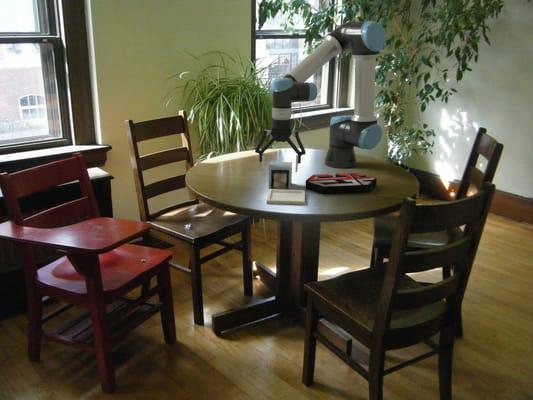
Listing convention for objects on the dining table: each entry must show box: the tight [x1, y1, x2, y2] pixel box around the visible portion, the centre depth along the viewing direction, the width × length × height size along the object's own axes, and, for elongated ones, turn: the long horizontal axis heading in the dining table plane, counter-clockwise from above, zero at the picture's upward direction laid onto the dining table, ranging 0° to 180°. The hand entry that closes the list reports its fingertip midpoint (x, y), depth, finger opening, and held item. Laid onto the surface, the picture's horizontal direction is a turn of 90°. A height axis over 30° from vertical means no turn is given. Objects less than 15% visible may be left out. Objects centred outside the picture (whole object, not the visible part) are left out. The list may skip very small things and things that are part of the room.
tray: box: [266, 188, 306, 206], centre depth 203 cm, size 14×14×1 cm
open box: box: [268, 161, 293, 190], centre depth 217 cm, size 9×9×9 cm
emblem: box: [304, 172, 378, 196], centre depth 218 cm, size 18×4×30 cm
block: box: [273, 171, 288, 189], centre depth 218 cm, size 5×5×6 cm
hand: (279, 170), depth 216 cm, fingers open, 13 cm apart
